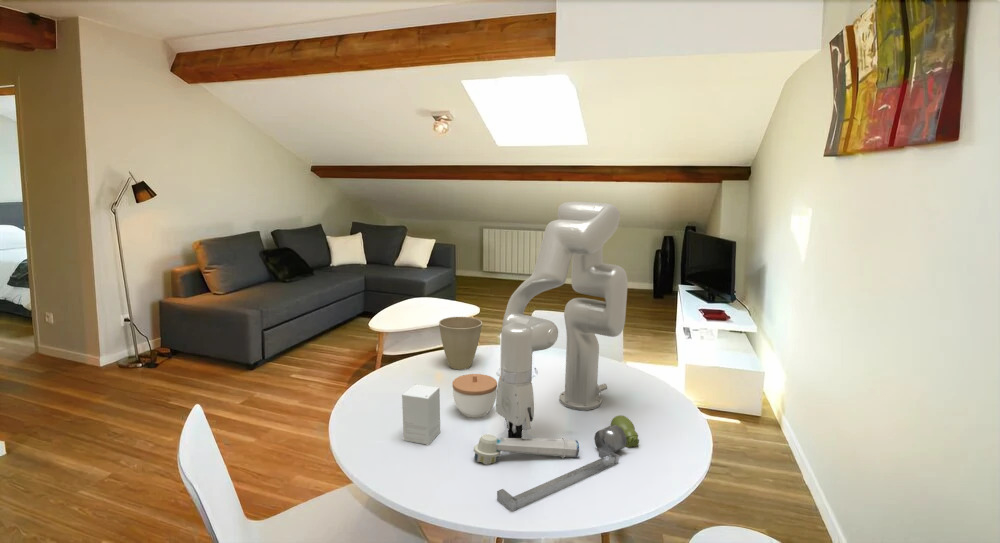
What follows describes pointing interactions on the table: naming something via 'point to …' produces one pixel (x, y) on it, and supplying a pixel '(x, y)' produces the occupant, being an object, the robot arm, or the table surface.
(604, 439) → the ladle
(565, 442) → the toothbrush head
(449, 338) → the plant pot
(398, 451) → the table surface
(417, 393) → the supplement box
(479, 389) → the lidded bowl
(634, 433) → the pear
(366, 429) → the table surface
